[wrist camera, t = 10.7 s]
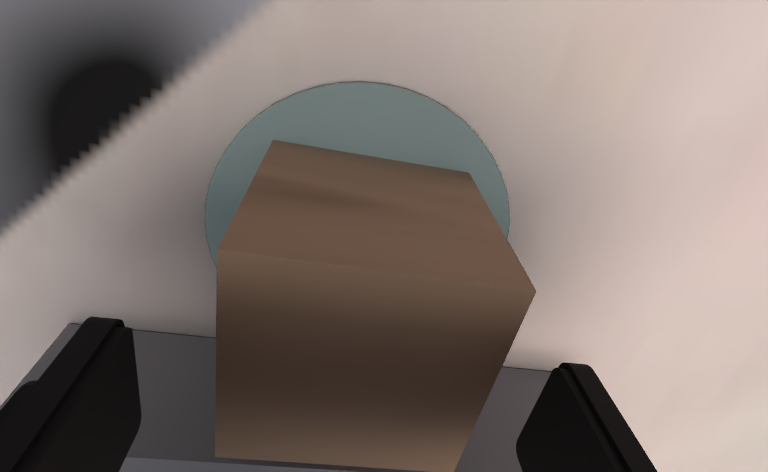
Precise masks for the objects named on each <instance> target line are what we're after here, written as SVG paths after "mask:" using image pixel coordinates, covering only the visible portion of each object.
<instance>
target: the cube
mask: <svg viewBox="0 0 768 472" xmlns="http://www.w3.org/2000/svg"><path fill="white" fill-rule="evenodd" d="M535 293H536V290H535V288H534V286H533V284H532V283H531V281H530V279H529V277H528V276H527V274H526V272H525V270H524V269H523V267H522V265H521V263H520V262H519V260H518V258H517V256H516V254H515V253H514V251H513V249H512V247H511V246H510V244H509V242H508V240H507V239H506V237H505V235H504V233H503V232H502V230H501V228H500V226H499V225H498V223H497V221H496V219H495V217H494V216H493V214H492V212H491V210H490V209H489V207H488V205H487V203H486V202H485V200H484V198H483V196H482V195H481V193H480V191H479V189H478V187H477V186H476V184H475V182H474V180H473V179H472V177H471V175H470V173H468V172H462V171H456V170H450V169H444V168H438V167H432V166H426V165H420V164H414V163H408V162H402V161H397V160H391V159H385V158H379V157H373V156H367V155H361V154H355V153H349V152H343V151H337V150H331V149H325V148H319V147H313V146H308V145H302V144H296V143H290V142H284V141H278V140H273V141H272V143H271V145H270V147H269V149H268V151H267V152H266V154H265V156H264V158H263V160H262V162H261V164H260V166H259V168H258V170H257V172H256V174H255V176H254V178H253V180H252V182H251V184H250V186H249V188H248V190H247V192H246V194H245V196H244V198H243V200H242V201H241V203H240V205H239V207H238V209H237V211H236V213H235V215H234V217H233V219H232V221H231V223H230V225H229V227H228V229H227V231H226V233H225V235H224V237H223V239H222V241H221V243H220V245H219V247H218V248H217V315H216V415H215V457H222V458H237V459H252V460H267V461H282V462H296V463H311V464H326V465H341V466H356V467H371V468H386V469H401V470H416V471H431V472H454V470H455V468H456V466H457V464H458V461H459V459H460V457H461V455H462V453H463V450H464V448H465V446H466V444H467V442H468V440H469V437H470V435H471V433H472V431H473V429H474V426H475V424H476V422H477V420H478V418H479V415H480V413H481V411H482V409H483V407H484V404H485V402H486V400H487V398H488V396H489V394H490V391H491V389H492V387H493V385H494V383H495V380H496V378H497V376H498V374H499V372H500V369H501V367H502V365H503V363H504V361H505V358H506V356H507V354H508V352H509V350H510V348H511V345H512V343H513V341H514V339H515V337H516V334H517V332H518V330H519V328H520V326H521V323H522V321H523V319H524V317H525V315H526V312H527V310H528V308H529V306H530V304H531V302H532V299H533V297H534V295H535Z"/></svg>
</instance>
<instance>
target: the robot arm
mask: <svg viewBox="0 0 768 472" xmlns="http://www.w3.org/2000/svg"><path fill="white" fill-rule="evenodd" d="M141 417H142V413H141V404H140V395H139V385H138V376H137V367H136V357H135V348H134V339H133V331H132V329H131V328H128V327H125V326H124V322H123V321H122V320H120V319H110V318H100V317H89V318H87V319H86V320H85V321H84V323H83V324H82V325H81V326H80V328H79V329H78V330H77V331H76V333H75V334H74V335H73V336H72V338H71V339H70V340H69V341H68V343H67V344H66V345H65V346H64V348H63V349H62V350H61V351H60V353H59V354H58V355H57V357H56V358H55V359H54V360H53V362H52V363H51V364H50V365H49V367H48V368H47V369H46V370H45V372H44V373H43V374H42V375H41V377H40V378H39V379H38V380H35V381H29V382H27V383H25V384H23V385H22V386H21V387H20V388H19V389H18V390H17V391H16V392H15V393H14V395H13V396H12V397H11V398H10V399H9V401H8V402H7V403H6V404H5V405H4V407H3V408H2V409H1V410H0V472H119V470H120V468H121V466H122V464H123V462H124V460H125V458H126V456H127V454H128V452H129V449H130V447H131V445H132V443H133V441H134V439H135V437H136V435H137V433H138V430H139V427H140V423H141ZM516 454H517V458H518V460H519V463H520V466H521V469H522V472H657V470H656V469H655V467H654V465H653V464H652V462H651V461H650V459H649V458H648V456H647V454H646V453H645V451H644V450H643V448H642V446H641V445H640V443H639V442H638V440H637V439H636V437H635V435H634V434H633V432H632V431H631V429H630V427H629V426H628V424H627V423H626V421H625V420H624V418H623V416H622V415H621V413H620V412H619V410H618V408H617V407H616V405H615V404H614V402H613V400H612V399H611V397H610V396H609V394H608V393H607V391H606V389H605V388H604V386H603V385H602V383H601V381H600V380H599V378H598V377H597V375H596V374H595V372H594V370H593V369H592V368H591V367H590V366H588V365H585V364H574V363H562V364H560V366H559V367H558V368H555V369H553V371H552V372H551V374H550V376H549V378H548V380H547V382H546V384H545V386H544V388H543V390H542V392H541V394H540V396H539V398H538V400H537V402H536V404H535V406H534V408H533V410H532V411H531V413H530V415H529V417H528V419H527V421H526V423H525V425H524V427H523V429H522V431H521V433H520V435H519V437H518V439H517V442H516Z"/></svg>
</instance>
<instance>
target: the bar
mask: <svg viewBox="0 0 768 472" xmlns="http://www.w3.org/2000/svg"><path fill="white" fill-rule="evenodd" d="M80 326H81V325H78V324H68V325H67V327H66V328H65V329H64V330H63V331H62V333H61V334H60V335H59V336H58V338H57V339H56V340H55V341H54V342H53V344H52V345H51V346H50V347H49V348H48V350H47V351H46V352H45V353H44V354H43V356H42V357H41V358H40V359H39V360H38V362H37V363H36V364H35V365H34V367H33V368H32V369H31V370H30V371H29V373H28V374H27V375H26V376H25V377H24V379H23V380H22V381H21V382H20V383H19V385H18V386H17V387H16V388H15V389H14V391H13V392H12V393H11V394H10V396H9V397H8V398H7V399H6V400H5V402H4V403H3V404H2V405H1V406H0V410H1V409H2V408H3V407H4V405H5V404H6V403H7V402H8V401H9V399H10V398H11V397H12V396H13V395H14V393H15V392H16V391H17V390H18V389H19V388H20V387H21V386H22V385H23V384H25V383H27V382H29V381H35V380H38V379H39V378H40V377H41V375H42V374H43V373H44V372H45V370H46V369H47V368H48V367H49V365H50V364H51V363H52V362H53V360H54V359H55V358H56V357H57V355H58V354H59V353H60V351H61V350H62V349H63V348H64V346H65V345H66V344H67V343H68V341H69V340H70V339H71V338H72V336H73V335H74V334H75V333H76V331H77V330H78V329H79V328H80ZM132 331H133V339H134V348H135V357H136V367H137V376H138V385H139V395H140V404H141V413H142V417H141V423H140V427H139V430H138V433H137V435H136V437H135V439H134V441H133V443H132V445H131V447H130V449H129V452H128V454H127V456H126V458H125V460H124V462H123V464H122V466H121V468H120V470H119V472H431V471H416V470H401V469H386V468H371V467H356V466H341V465H326V464H311V463H296V462H282V461H267V460H252V459H237V458H222V457H215V415H216V338H208V337H198V336H188V335H178V334H168V333H158V332H148V331H138V330H132ZM550 374H551V372H547V371H537V370H527V369H517V368H507V367H501V369H500V372H499V374H498V376H497V378H496V380H495V383H494V385H493V387H492V389H491V391H490V394H489V396H488V398H487V400H486V402H485V404H484V407H483V409H482V411H481V413H480V415H479V418H478V420H477V422H476V424H475V426H474V429H473V431H472V433H471V435H470V437H469V440H468V442H467V444H466V446H465V448H464V450H463V453H462V455H461V457H460V459H459V461H458V464H457V466H456V468H455V470H454V472H522V469H521V466H520V463H519V460H518V458H517V454H516V442H517V439H518V437H519V435H520V433H521V431H522V429H523V427H524V425H525V423H526V421H527V419H528V417H529V415H530V413H531V411H532V410H533V408H534V406H535V404H536V402H537V400H538V398H539V396H540V394H541V392H542V390H543V388H544V386H545V384H546V382H547V380H548V378H549V376H550Z"/></svg>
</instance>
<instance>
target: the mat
mask: <svg viewBox="0 0 768 472" xmlns="http://www.w3.org/2000/svg"><path fill="white" fill-rule="evenodd" d="M273 140H278V141H284V142H290V143H296V144H302V145H308V146H313V147H319V148H325V149H331V150H337V151H343V152H349V153H355V154H361V155H367V156H373V157H379V158H385V159H391V160H397V161H402V162H408V163H414V164H420V165H426V166H432V167H438V168H444V169H450V170H456V171H462V172H468V173H470V175H471V177H472V179H473V180H474V182H475V184H476V186H477V187H478V189H479V191H480V193H481V195H482V196H483V198H484V200H485V202H486V203H487V205H488V207H489V209H490V210H491V212H492V214H493V216H494V217H495V219H496V221H497V223H498V225H499V226H500V228H501V230H502V232H503V233H504V235H505V237H506V239H507V238H508V231H509V203H508V197H507V191H506V187H505V184H504V181H503V178H502V175H501V172H500V170H499V168H498V166H497V164H496V162H495V160H494V158H493V156H492V154H491V153H490V152H489V150H488V149H487V147H486V146H485V145H484V143H483V142H482V140H481V139H480V138H479V136H478V135H477V134H476V133H475V132H474V131H473V130H472V129H471V128H470V127H469V126H468V125H467V124H466V123H465V122H464V121H463V120H462V119H461V118H460V117H458V116H457V115H456V114H454V113H453V112H452V111H450V110H449V109H448V108H446V107H445V106H443V105H441V104H439V103H437V102H436V101H434V100H432V99H430V98H429V97H426V96H424V95H421V94H419V93H416V92H413V91H411V90H408V89H405V88H401V87H396V86H392V85H388V84H382V83H372V82H339V83H334V84H328V85H322V86H317V87H314V88H310V89H307V90H304V91H301V92H298V93H295V94H293V95H291V96H289V97H287V98H285V99H283V100H281V101H279V102H277V103H275V104H273V105H272V106H270V107H269V108H267V109H266V110H264V111H263V112H261V113H260V114H258V115H257V116H256V117H255V118H254V119H253V120H252V121H251V122H250V123H248V124H247V125H246V126H245V127H244V128H243V129H242V130H241V131H240V133H239V134H238V135H237V136H236V138H235V139H234V140H233V141H232V143H231V144H230V145H229V146H228V148H227V149H226V151H225V152H224V154H223V156H222V158H221V159H220V161H219V163H218V165H217V166H216V169H215V172H214V174H213V177H212V179H211V182H210V185H209V190H208V194H207V199H206V209H205V226H206V235H207V241H208V245H209V248H210V252H211V256H212V258H213V260H214V263H215V265H216V267H217V248H218V247H219V245H220V243H221V241H222V239H223V237H224V235H225V233H226V231H227V229H228V227H229V225H230V223H231V221H232V219H233V217H234V215H235V213H236V211H237V209H238V207H239V205H240V203H241V201H242V200H243V198H244V196H245V194H246V192H247V190H248V188H249V186H250V184H251V182H252V180H253V178H254V176H255V174H256V172H257V170H258V168H259V166H260V164H261V162H262V160H263V158H264V156H265V154H266V152H267V151H268V149H269V147H270V145H271V143H272V141H273Z"/></svg>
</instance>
